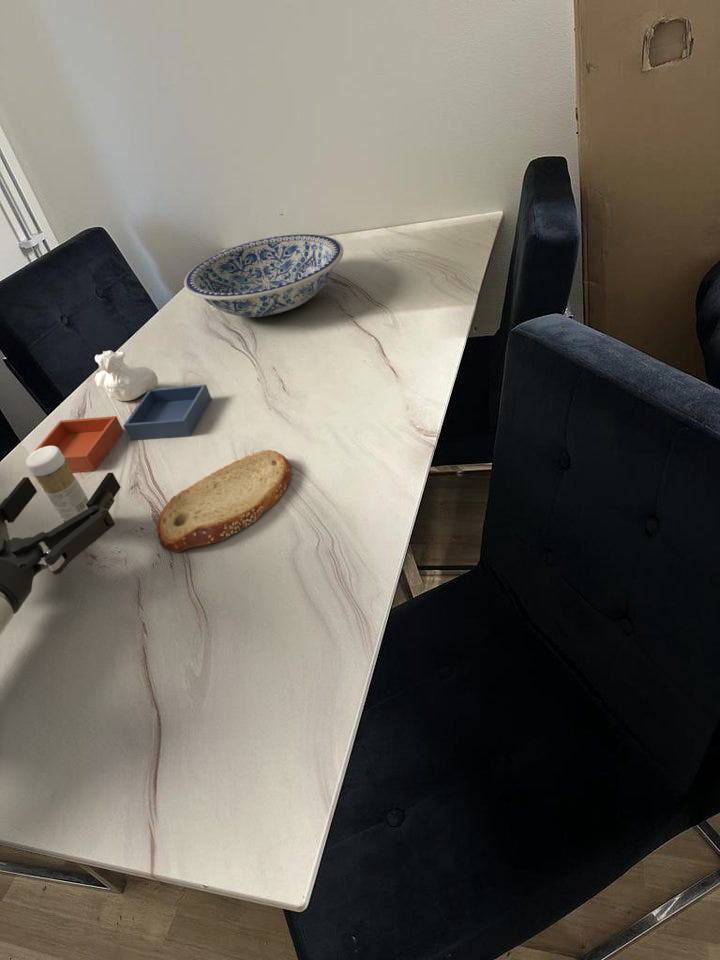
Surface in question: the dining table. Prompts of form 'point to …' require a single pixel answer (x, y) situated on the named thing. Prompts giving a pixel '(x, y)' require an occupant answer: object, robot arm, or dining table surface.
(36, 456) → the sprinkles bottle
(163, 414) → the slate tray
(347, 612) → the dining table surface
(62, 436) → the terracotta tray
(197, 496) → the slice of bread
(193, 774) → the dining table surface
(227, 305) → the ceramic bowl
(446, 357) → the dining table surface
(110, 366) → the white animal figurine
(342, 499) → the dining table surface
